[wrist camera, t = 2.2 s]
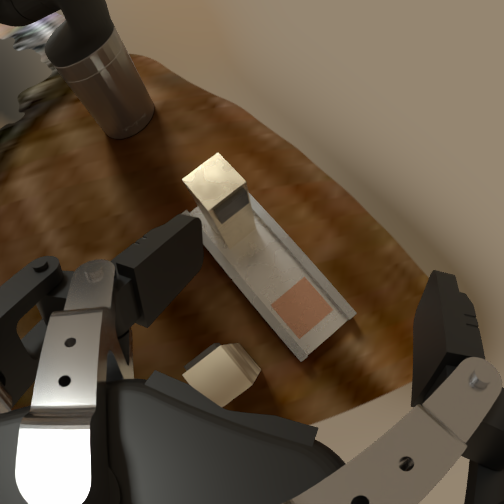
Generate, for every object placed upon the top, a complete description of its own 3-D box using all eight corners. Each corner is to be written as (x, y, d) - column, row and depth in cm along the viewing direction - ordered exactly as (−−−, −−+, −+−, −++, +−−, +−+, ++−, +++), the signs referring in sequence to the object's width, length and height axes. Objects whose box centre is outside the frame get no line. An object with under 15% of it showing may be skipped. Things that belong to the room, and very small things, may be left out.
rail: (184, 221, 40) (147, 172, 28) (234, 182, 41) (216, 121, 29) (299, 360, 35) (310, 373, 22) (352, 314, 36) (388, 302, 23)
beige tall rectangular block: (209, 360, 36) (178, 369, 24) (236, 339, 36) (216, 340, 25) (234, 390, 35) (213, 413, 23) (261, 369, 35) (252, 384, 24)
